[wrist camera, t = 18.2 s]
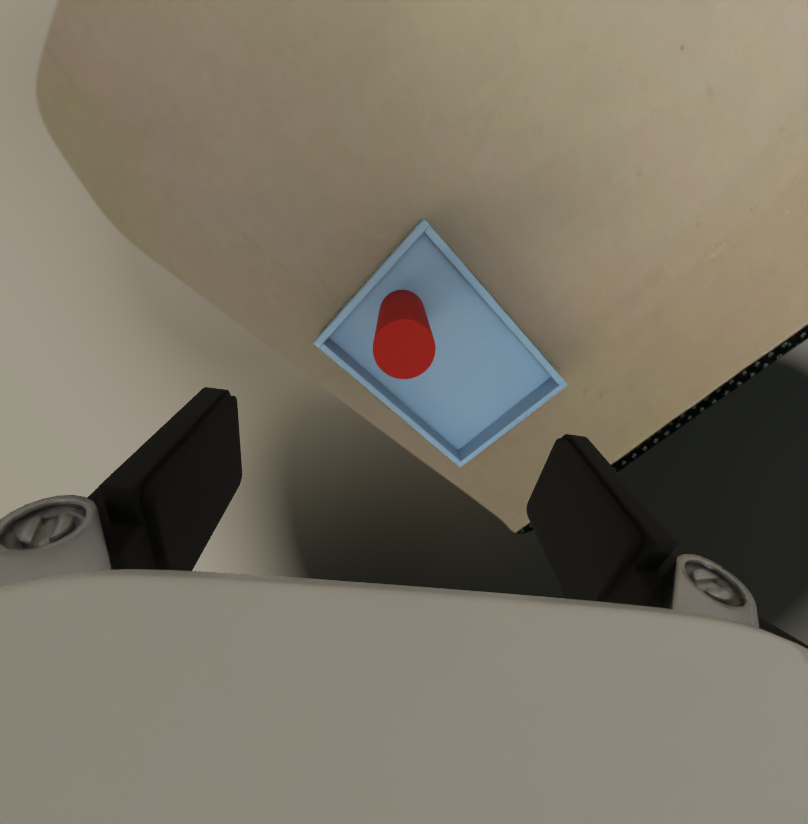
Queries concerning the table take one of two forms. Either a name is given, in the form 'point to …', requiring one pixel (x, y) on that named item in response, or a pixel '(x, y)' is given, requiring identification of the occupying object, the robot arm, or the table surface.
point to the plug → (403, 336)
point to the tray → (445, 351)
